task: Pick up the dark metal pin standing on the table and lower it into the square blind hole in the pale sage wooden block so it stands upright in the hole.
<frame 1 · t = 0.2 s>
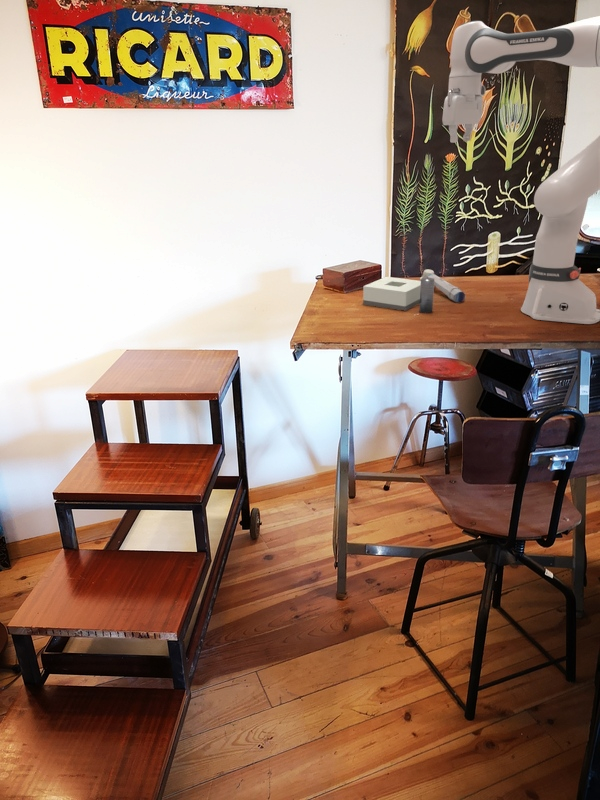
hand: (460, 141, 176), 47 cm above the table, tool pointing down, fingers open, 8 cm apart
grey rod: (440, 294, 203), on the table
socket block: (395, 302, 194), on the table
pin: (425, 311, 184), on the table
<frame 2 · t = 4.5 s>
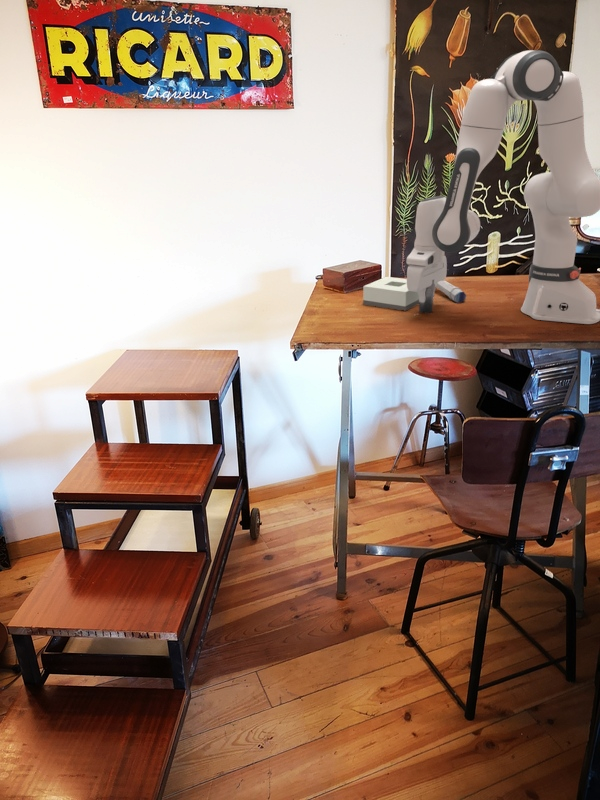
hand: (426, 299, 183), 4 cm above the table, tool pointing down, fingers closed on pin, 4 cm apart
pin: (425, 311, 184), on the table, touching gripper
everything else where it was.
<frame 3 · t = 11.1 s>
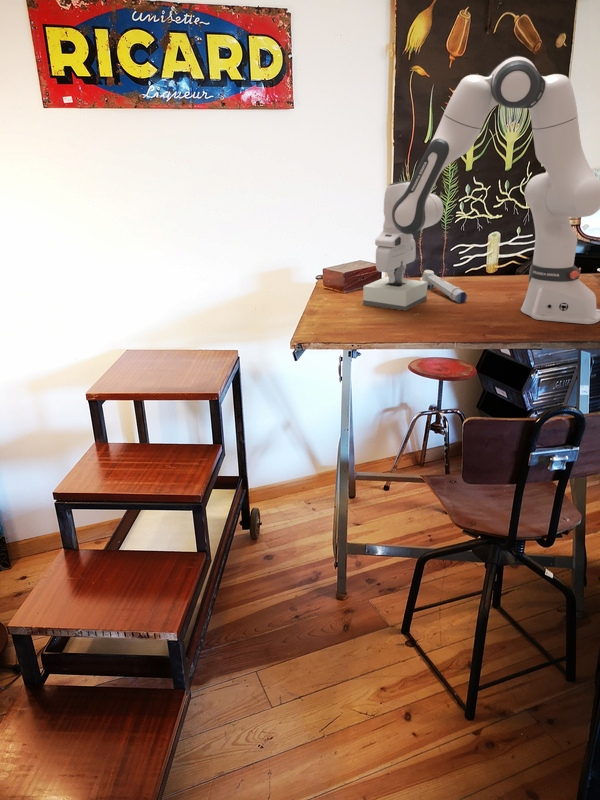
hand: (395, 280, 191), 7 cm above the table, tool pointing down, fingers closed on pin, 4 cm apart
pin: (395, 291, 193), point 3 cm above the table, touching gripper
everything else where it was.
when the fingers open (7 cm above the table, at t = 11.2 s): pin drops 2 cm, resting on socket block.
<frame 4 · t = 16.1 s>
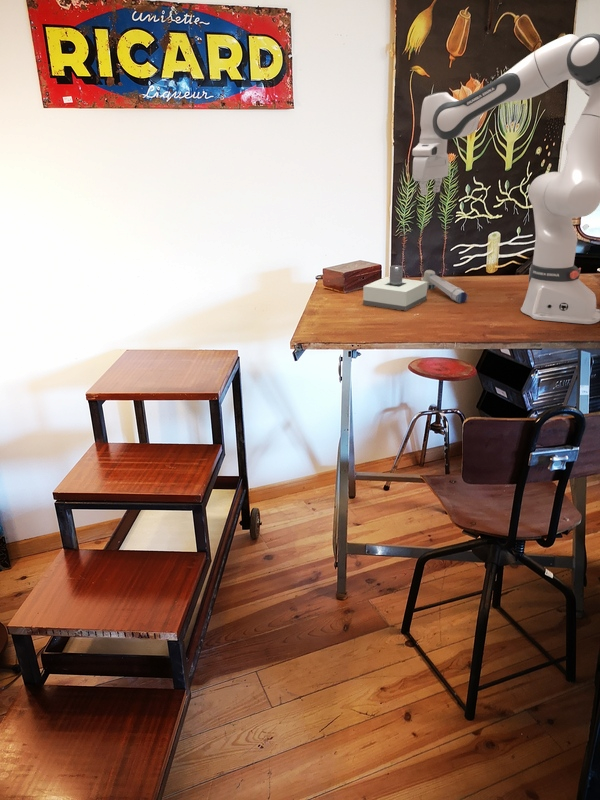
hand: (430, 193, 200), 31 cm above the table, tool pointing down, fingers open, 8 cm apart
pin: (395, 297, 194), point 2 cm above the table, touching socket block
everything else where it was.
at the end: pin 0.1 cm off-centre on the socket block, point 1.5 cm above the socket block's base; pin tilted 1°; the gripper is holding nothing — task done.
